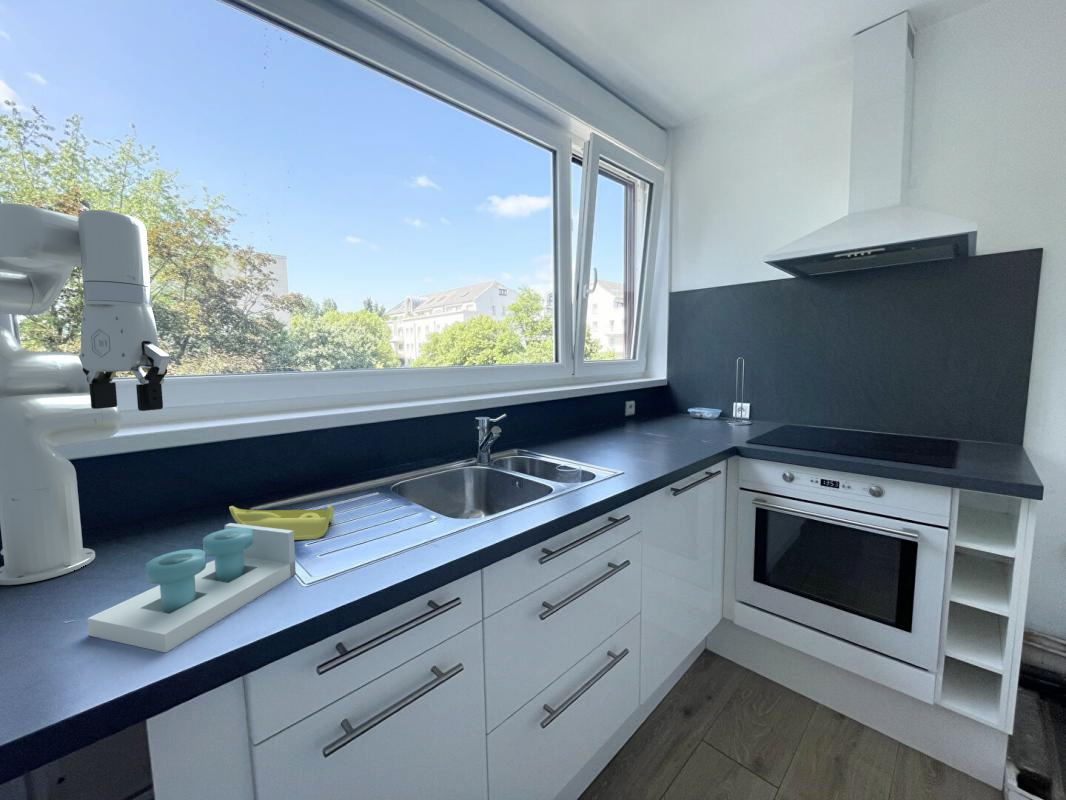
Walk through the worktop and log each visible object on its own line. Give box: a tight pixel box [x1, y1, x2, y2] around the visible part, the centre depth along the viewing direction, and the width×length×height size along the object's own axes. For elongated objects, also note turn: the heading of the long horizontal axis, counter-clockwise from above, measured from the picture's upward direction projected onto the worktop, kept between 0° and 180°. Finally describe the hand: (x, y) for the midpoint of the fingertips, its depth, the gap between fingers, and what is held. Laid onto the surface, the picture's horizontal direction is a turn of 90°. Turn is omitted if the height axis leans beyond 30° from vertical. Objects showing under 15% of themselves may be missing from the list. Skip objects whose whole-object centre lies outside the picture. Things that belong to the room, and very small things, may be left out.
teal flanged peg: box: [202, 527, 253, 583], centre depth 74 cm, size 7×7×9 cm
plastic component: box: [229, 504, 335, 541], centre depth 98 cm, size 20×7×10 cm
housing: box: [86, 522, 297, 654], centre depth 70 cm, size 14×22×8 cm, turn 166°
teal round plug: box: [145, 548, 207, 614], centre depth 65 cm, size 7×7×9 cm
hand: (127, 408), depth 69 cm, fingers open, 9 cm apart
